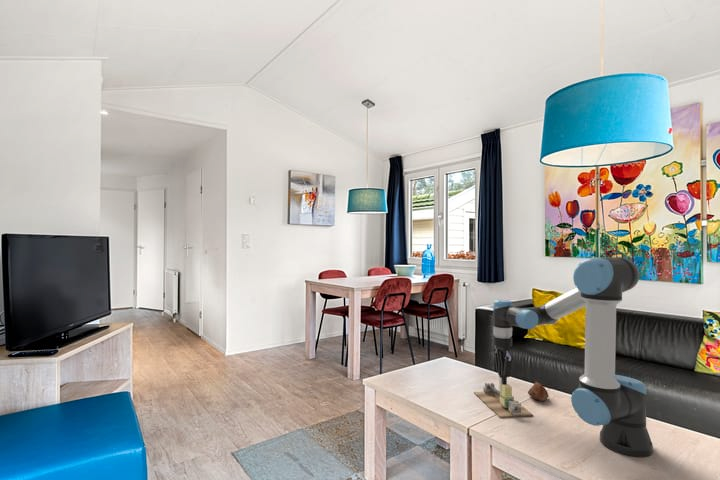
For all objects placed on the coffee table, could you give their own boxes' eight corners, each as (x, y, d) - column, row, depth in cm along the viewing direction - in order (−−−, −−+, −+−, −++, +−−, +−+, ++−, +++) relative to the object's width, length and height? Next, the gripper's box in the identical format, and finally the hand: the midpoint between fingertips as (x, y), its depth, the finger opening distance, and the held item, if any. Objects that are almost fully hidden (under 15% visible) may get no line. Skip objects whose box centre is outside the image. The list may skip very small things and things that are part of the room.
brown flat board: (533, 416, 158) (533, 403, 158) (499, 418, 157) (499, 404, 157) (502, 392, 184) (502, 380, 184) (473, 393, 182) (473, 381, 182)
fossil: (539, 397, 168) (533, 374, 174) (522, 401, 174) (517, 378, 179) (555, 403, 174) (550, 380, 180) (538, 406, 180) (533, 383, 185)
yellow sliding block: (513, 407, 164) (513, 387, 164) (504, 407, 163) (504, 387, 163) (509, 403, 168) (509, 383, 168) (499, 403, 167) (499, 384, 167)
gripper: (518, 339, 163) (519, 397, 163) (503, 332, 176) (504, 385, 176) (501, 340, 162) (501, 397, 162) (487, 333, 175) (487, 386, 175)
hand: (502, 391), depth 169 cm, fingers closed
